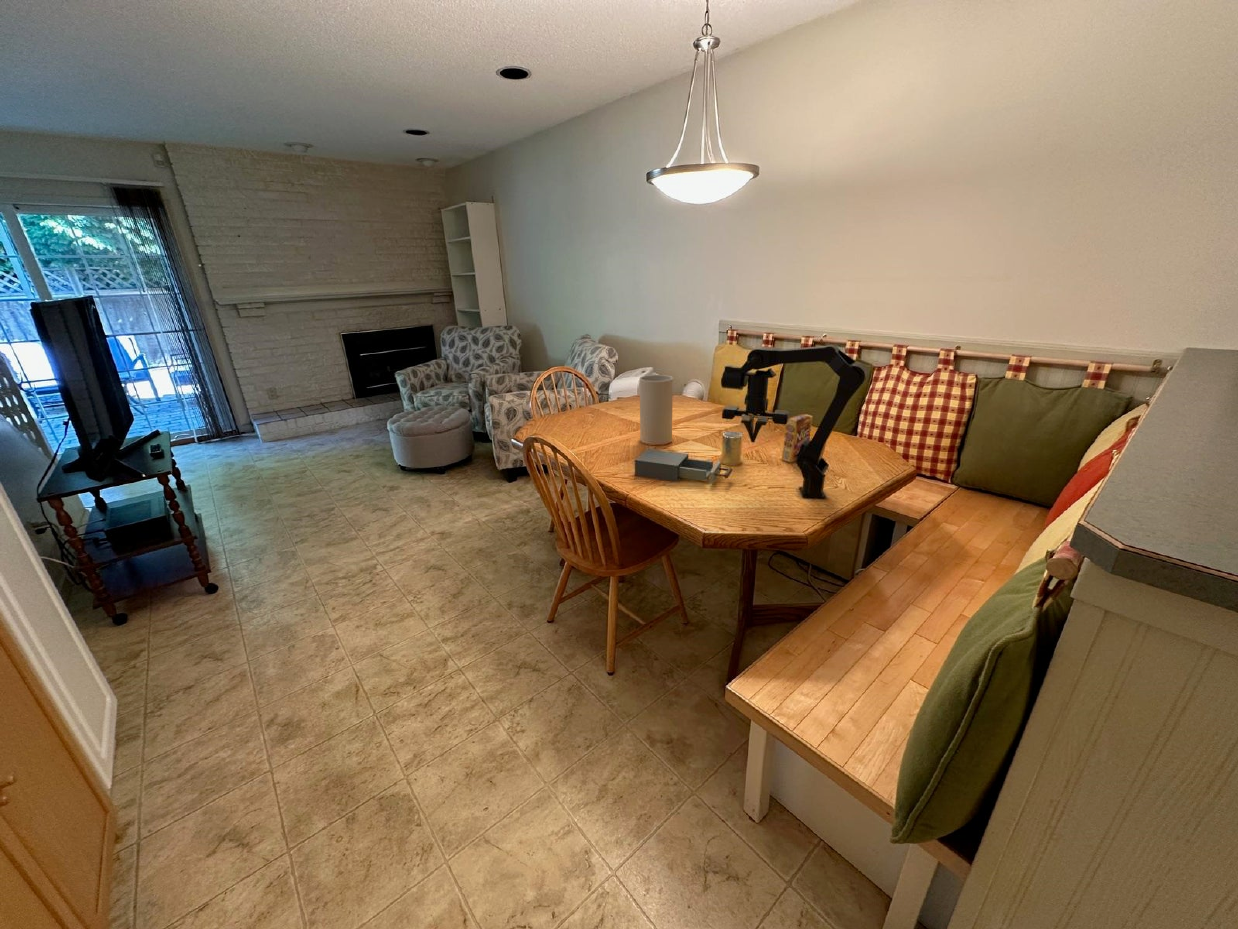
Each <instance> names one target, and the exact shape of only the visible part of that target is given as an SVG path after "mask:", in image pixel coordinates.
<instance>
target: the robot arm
mask: <svg viewBox="0 0 1238 929" xmlns="http://www.w3.org/2000/svg"><path fill="white" fill-rule="evenodd" d="M817 362H818V363H819V362H825V363H826V365H828V366H829V368H830V369H831V370H832V371H833V372H834V373H835V374H836V375H837V376H838V377H839V380H838V382H837V387H836V389H835V394H834V397H833V399H832V401H831V402H830V404H829V406H828V408H827V410H826V412H825V414H824V416H823V417H822V420H821V421H820V423H819V425H818V427H817V429H816V431H815V433H814V434H813V436H812V438H811V440H810V439H809V440H808V439H806V440H805V441H804V442H803V443H802V445H801V447H800V451H799V452H798V453H797V454H796V457H797V459H796V461H795V464H796V466H797V467H798V469H799V470H800V473H801V476H802V478H803V479H802V486H799V487H798V490H799V493H800V495H801V498H805V499H827V495H826V494H825V492H824V486H825V480H826V474H825V473H826V471H827V470H828V468H829V467H830V464H829V463H828V462H827V461H826V460H825V458H824V457H823V456H824V453H825V450H826V445H827V442H828V440H829V438H830V436H831V434H832V433H833V430H834V429H835V427H836V425H837V423H838V422H839V420H840V418H841V416H842V414H843V413H844V411H845V409H846V407H847V405H848V404H849V401H850V400H851V399H852V398H853V396H854V395H855V393H856V392H857V391H858V390H859V389H860V388H861V386H862V385H863V384H864V383H865V381H866V380H867V379H868V377H869V374H870V372H869V368H868V366H867V365H866V364H864V363H863V362H859V361H856V360H855V359H854V358H853V357H851V356H849V355H848V354H847V353H845V352H844V351H842V350H841V349H840V348H839V347H838V346H837V345H835V344H828V345H822V346H809V347H808V346H807V347H794V348H779V347H773V346H759V347H757V348H754V349H752V350H751V351H750V352H748V353H747V358H746V361H745V362H744V363H743V364H742V366H734V365H729V364H727V365H725V366H724V370H723V372H722V376H721V377H720V386H721V388H722V389H727V390H738V391H742V390H743V389H744V388H746V394H745V395H744V396H745V397H744V405H745V409H740V406H737V405H727V406H726V407H725V408H723V410H722V412H721V419H722V420H733V419H734V418H735V417H741V420H740V424H743V426H744V427H745V429H746V431H747V434H748V437H749V440H750V442H751V443H753V444H754V443H755V442H756V439H757V437H758V436H759V432H760V430H761V429H762V427H763V426H767V424H768V422H769V420H771V422H773V423H774V424H775V425H785V426H786V424H787V422H788V420H789V418H790V412H789V410H784V409H775V410H774V412H769V411H768V409H769V408H768V406H769V399H768V390H769V389H768V388H769V379H774V378H775V377H776V376H777V373H776V372H775V371H774V370H773V369H772V368H771V367H775V366H778V365H783V364H785V365H786V364H787V365H788V364H800V363H817ZM767 368H768V369H767ZM763 369H767V370H763ZM752 370H754V371H755V372H751V371H752ZM755 419H757V420H756V422H755ZM754 423H755V424H754Z"/></svg>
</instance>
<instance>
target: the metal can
mask: <svg viewBox="0 0 1238 929" xmlns="http://www.w3.org/2000/svg"><path fill="white" fill-rule="evenodd" d="M721 436H722V438H721V455H720V456H721V457H720V461H721V464H722V465H726V466H739V465H741V462H742V448H743V433H741V432H737V431H725V432H723V433H722V435H721Z"/></svg>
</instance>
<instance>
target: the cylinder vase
mask: <svg viewBox="0 0 1238 929" xmlns="http://www.w3.org/2000/svg"><path fill="white" fill-rule="evenodd" d="M673 387H674V378H673V376H671V375H665V374H648V375H642V376H640V377H639V425H640V427H639V435H640V436H639V437H640V442H641V443H642V444H645V445H648V446H649V445H650V446H662V445H668V444H669V443H671V442H672V440H673V400H674V399H673V398H674V394H673V391H674V390H673V389H674V388H673Z"/></svg>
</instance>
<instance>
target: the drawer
mask: <svg viewBox="0 0 1238 929" xmlns="http://www.w3.org/2000/svg"><path fill="white" fill-rule="evenodd" d="M722 471H725V473H721V472H722ZM732 472H733V467H728V468H726V467H722V462H721V460H717V461H716V462H715V464H714V461H711V460H704V459H698V458H697V459H696V458H689V457H688V458H686V459H685V460H684V461H683V463H682V464H681V465H680V466H679V467H678V477H681V478H680V479H689V480H696V481H703V482H706V481H707V479H709V480H708V484H711V485H712V484H714V483H715V481H716V480H717V478H718V477H723V478H724V479H729V478H730V476H731V475H732Z"/></svg>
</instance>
